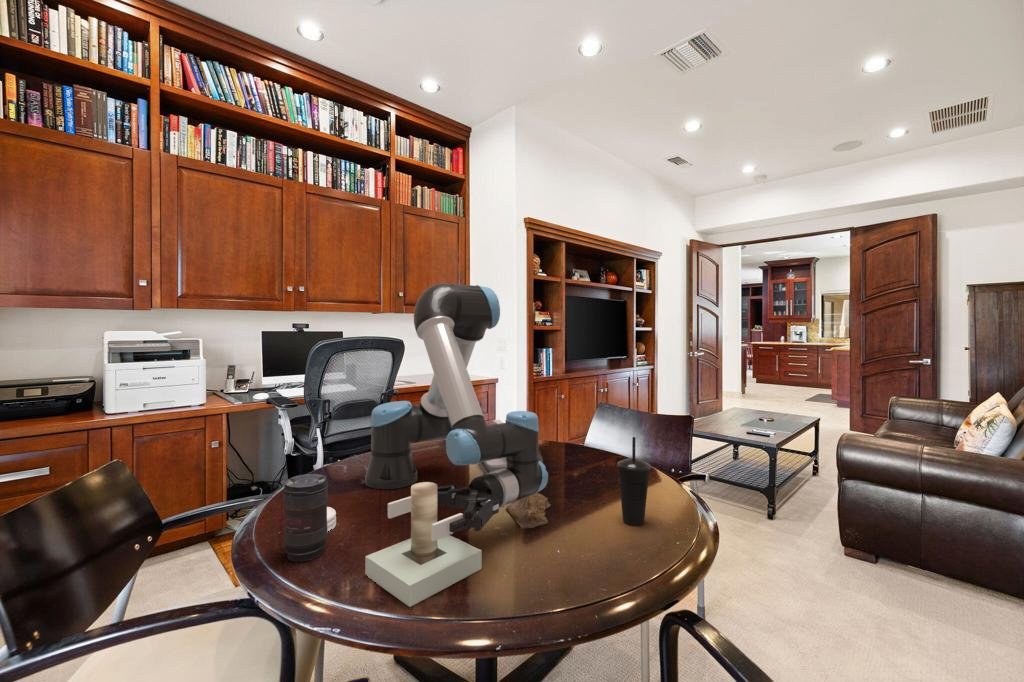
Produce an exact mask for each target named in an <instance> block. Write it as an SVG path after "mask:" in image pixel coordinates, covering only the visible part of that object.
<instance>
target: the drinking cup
mask: <svg viewBox="0 0 1024 682" xmlns="http://www.w3.org/2000/svg"><path fill="white" fill-rule="evenodd" d="M631 438H632V447H631V448H632V453H631V455H632V457H630V458H625V459H622V460H619V461H617V464H616V466H617V467H618V477H619V478H618V479H619V491H620V501H621V514H622V522H623V523H624V524H626V525H628V526H631V525H632V527H633V526H634V527H640V526H643V525H644V524H645V515H646V507H647V498H648V497H647V495H648V487H649V476H650V469H651V468H652V466H651V464H650V463H649V462H647V461H645V460H642V459H640V458H637V457H636V437H635V436H634V437H631ZM642 524H643V525H642ZM639 525H640V526H639Z"/></svg>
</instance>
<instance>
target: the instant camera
mask: <svg viewBox="0 0 1024 682" xmlns="http://www.w3.org/2000/svg"><path fill="white" fill-rule="evenodd" d="M491 421H492V422H491V425H493V424H501V423H504V422H503V421H502V420H501V419H493V420H491ZM538 460H539V461H541V462H542V463H543V464H544V460H543V456H542V455H541V453H540V452H539V451H538ZM478 466H479V467H480V466H481V467H480V468H481V470H482V469H483V470H482V471H483V472H484V475H485V474H488V473H490V472H493V471H497V470H500V469H503V468H506V467H507V463H506V457H505V458H500V459H493V460H489V461H485V462H480V463H478Z"/></svg>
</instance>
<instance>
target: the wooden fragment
mask: <svg viewBox="0 0 1024 682" xmlns="http://www.w3.org/2000/svg"><path fill="white" fill-rule="evenodd" d="M548 500H549V498H548V497H546V496H544V494H541V493H538V492H537V493H535V494H534V495H532V496H527V497H525V498H522V499H520V500H517V501H515V502H512V503H510V504H507V505H506V508H505V510H507V512H508V513H509V514H510V515H511V517H512V518H513V519H514V521H515V522H516V523H517V524H518V525H519V526H520V529H521V530H522V529H533V528H536V527H540V526H544V525H546V524H548V523H549V521H548V519H547V516H546V514H547V512H546V510H547V509H549V508H550V507H551V505H552V504H551V503H550V502H549V501H548Z"/></svg>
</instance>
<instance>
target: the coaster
mask: <svg viewBox="0 0 1024 682" xmlns="http://www.w3.org/2000/svg"><path fill="white" fill-rule="evenodd" d="M336 515H337V512H336V509H334V508H333V507H330V506H327V533H329V532H331V531H332V530H333V529H334V528H335V527H336V526H337V516H336ZM331 529H332V530H331ZM330 530H331V531H330ZM328 531H329V532H328Z"/></svg>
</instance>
